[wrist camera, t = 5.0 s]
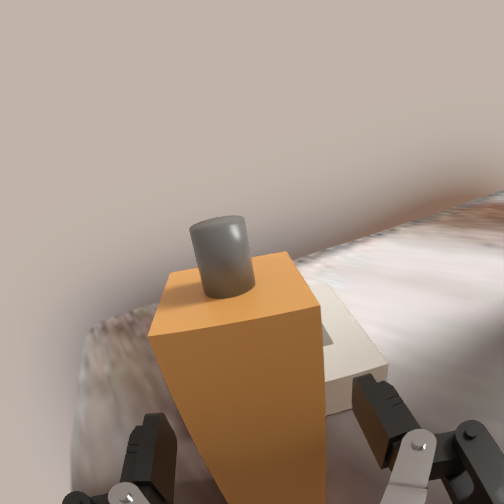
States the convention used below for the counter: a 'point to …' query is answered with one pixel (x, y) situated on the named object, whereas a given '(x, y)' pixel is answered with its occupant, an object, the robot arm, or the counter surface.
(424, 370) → the counter surface
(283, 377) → the plug
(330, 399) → the socket
